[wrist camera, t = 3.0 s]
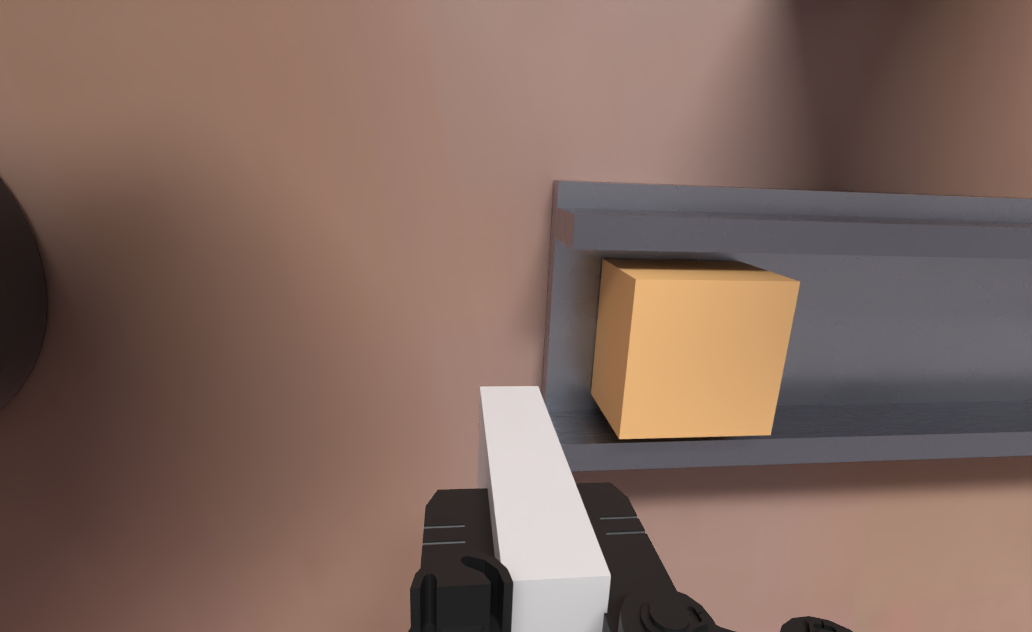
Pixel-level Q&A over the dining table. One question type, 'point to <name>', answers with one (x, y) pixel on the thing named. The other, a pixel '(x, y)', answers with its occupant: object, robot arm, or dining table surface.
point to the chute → (816, 319)
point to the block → (690, 347)
